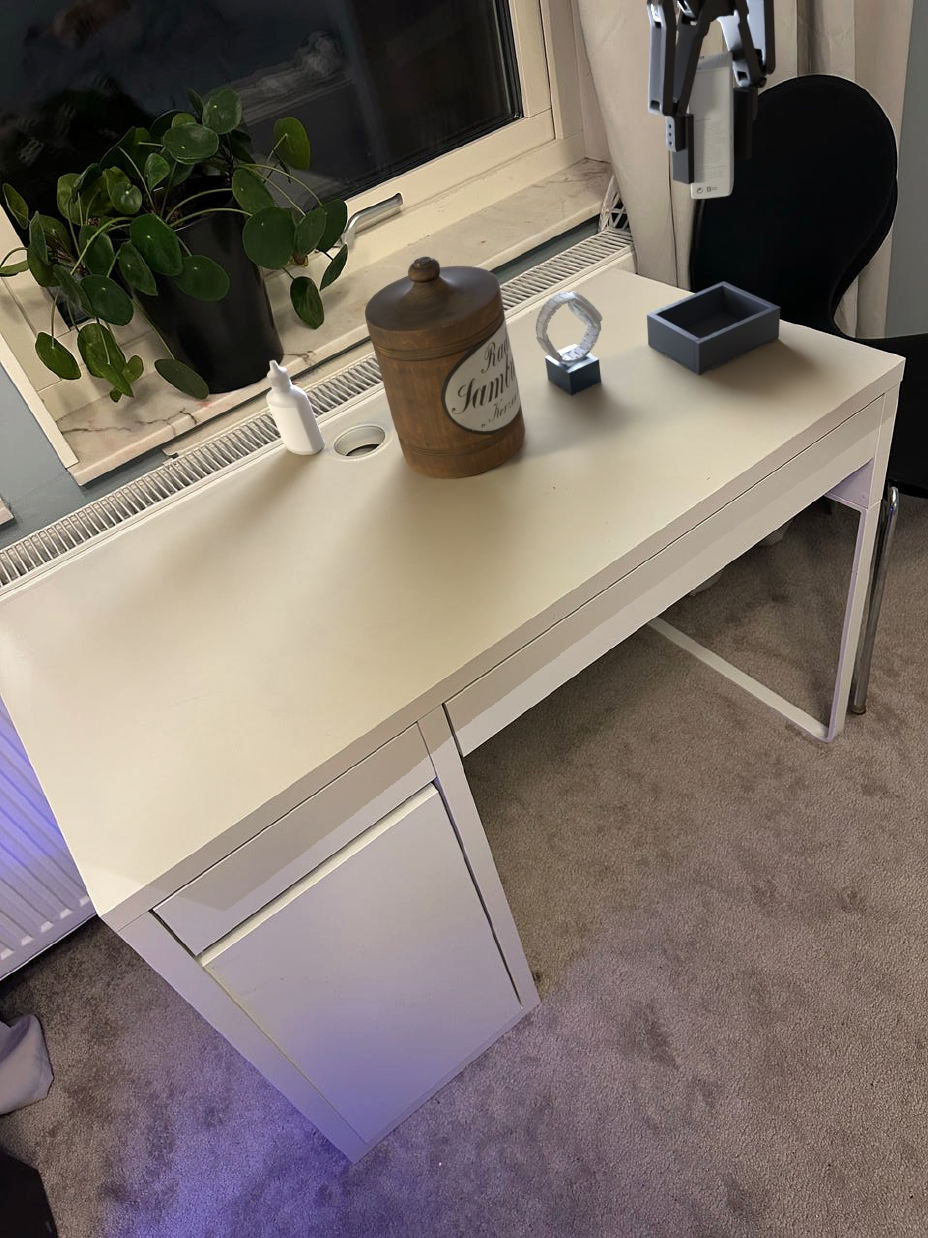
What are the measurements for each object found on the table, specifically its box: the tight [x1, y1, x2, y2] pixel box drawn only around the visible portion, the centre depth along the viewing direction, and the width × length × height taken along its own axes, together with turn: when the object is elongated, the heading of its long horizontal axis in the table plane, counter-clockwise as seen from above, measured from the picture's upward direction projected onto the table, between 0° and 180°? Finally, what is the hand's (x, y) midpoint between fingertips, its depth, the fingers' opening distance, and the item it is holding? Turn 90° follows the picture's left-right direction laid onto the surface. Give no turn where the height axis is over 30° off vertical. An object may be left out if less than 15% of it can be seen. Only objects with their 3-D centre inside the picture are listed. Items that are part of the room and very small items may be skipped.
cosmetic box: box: [688, 51, 735, 200], centre depth 88 cm, size 6×4×12 cm
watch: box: [535, 290, 603, 396], centre depth 102 cm, size 6×8×11 cm
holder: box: [646, 280, 781, 376], centre depth 104 cm, size 11×12×4 cm
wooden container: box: [364, 256, 526, 479], centre depth 93 cm, size 15×15×22 cm
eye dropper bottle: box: [265, 359, 326, 456], centre depth 103 cm, size 4×6×12 cm
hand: (712, 168), depth 91 cm, fingers closed on cosmetic box, 7 cm apart
